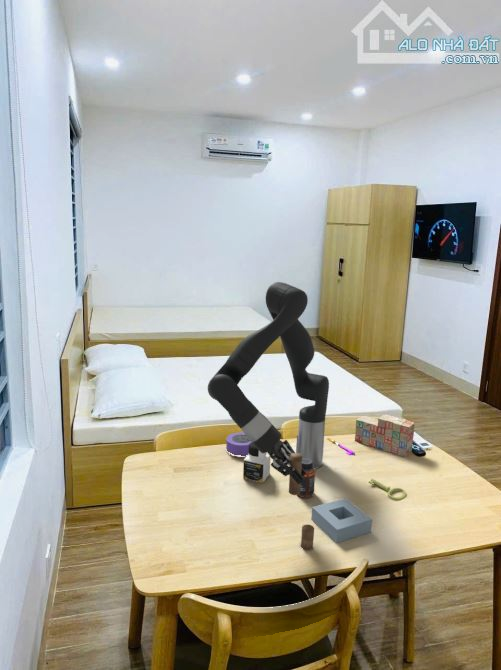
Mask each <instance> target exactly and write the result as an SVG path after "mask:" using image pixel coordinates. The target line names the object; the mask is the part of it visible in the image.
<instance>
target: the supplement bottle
mask: <svg viewBox="0 0 501 670" xmlns="http://www.w3.org/2000/svg"><path fill="white" fill-rule="evenodd" d="M302 468H303V469H304V470H305V471H306V475H304V476H303V478H304V481H303V482H302V483H301V488H300V494H298V495H297V496H298V497H300V498H311V497H312V496H314V494H315V479H316V468H314V467H313V466H312V460H310V459H307V458H303V459H302Z"/></svg>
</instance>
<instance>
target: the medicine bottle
mask: <svg viewBox="0 0 501 670" xmlns="http://www.w3.org/2000/svg"><path fill="white" fill-rule="evenodd" d="M242 468H243V473H242V478H245V479H244V480H247V479H249V480H248V481H251V480H253V481H252V482H255V481H257V482H256V483H260V482H261V483H260V484H263V483H264V482H265V481H266V479H267V478H268V477H269V476H270V474H271V457H270V455H269V454H268V453H267V452H266V453H261V452H260V451H259V450H258V449H257V448H256V446H255V445H254V444H253V443H252V442H251V443H250V444H249V450H248V456H247V457H244V459H243V467H242Z"/></svg>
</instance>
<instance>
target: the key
mask: <svg viewBox="0 0 501 670" xmlns="http://www.w3.org/2000/svg"><path fill="white" fill-rule="evenodd" d="M368 484H370V485H373V484H374V485H375V486H378V487H379V488H381V489H382V490H384V491H385V492H386V493H387V496H386V497H387V498H388V499H390V500H392V501H393V500H394V501H401V500H403V499H405V498H406V496H407V492H406V491H405V489H404V488H401V487H393V488H391V487H390V486H387V485H384V484H383V483H381V482H380V481H377V480H376V479H375V478H371V479H370V480H369V481H368ZM395 492H401V493H402V495H401V496H397V497H396V496H395V497H394V496H392V495H391V494H393V493H395Z"/></svg>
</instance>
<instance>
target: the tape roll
mask: <svg viewBox="0 0 501 670" xmlns="http://www.w3.org/2000/svg"><path fill="white" fill-rule="evenodd" d="M250 443H251V441H250V440H249V439H248V438H247V436H246V435H245V434H244V432H233V433H230V434H229V435H227V436H226V444H225V445H226V447H225V448H226V449H227V451H228V452H230V453H232V454H234V455H241V456H246V455H248V450H249V444H250Z"/></svg>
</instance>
